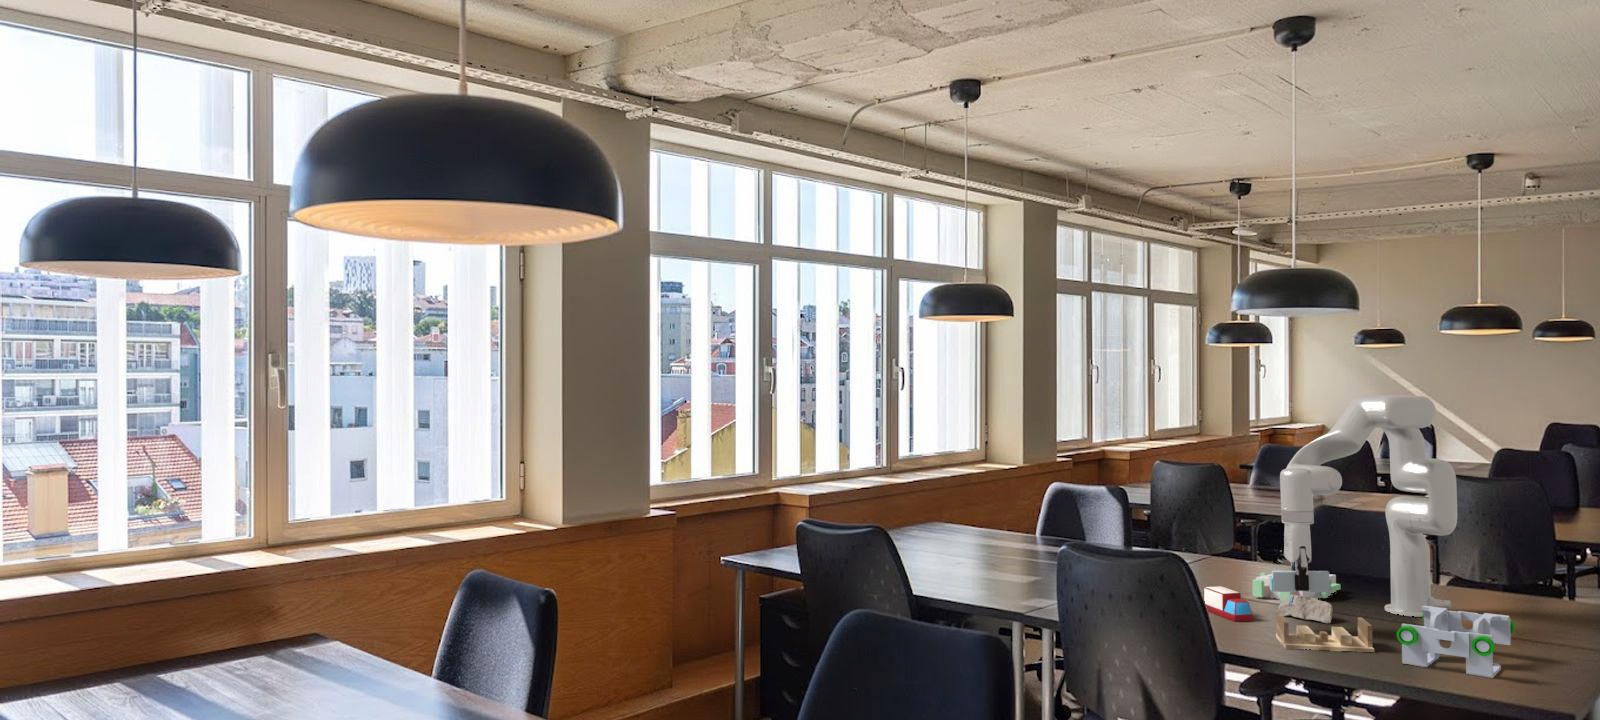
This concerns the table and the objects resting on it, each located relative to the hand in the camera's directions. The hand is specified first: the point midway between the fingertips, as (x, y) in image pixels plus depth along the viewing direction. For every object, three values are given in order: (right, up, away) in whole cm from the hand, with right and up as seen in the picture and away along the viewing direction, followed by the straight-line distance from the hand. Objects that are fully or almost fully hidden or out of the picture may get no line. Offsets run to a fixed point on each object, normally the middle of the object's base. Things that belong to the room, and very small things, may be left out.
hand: (1300, 587), depth 281 cm
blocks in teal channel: (0, -1, -1) cm, 1 cm away
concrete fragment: (+8, -11, +14) cm, 20 cm away
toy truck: (-11, -12, +18) cm, 24 cm away
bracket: (+22, -11, -30) cm, 39 cm away
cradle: (-1, -11, -14) cm, 18 cm away
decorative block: (+18, -12, +43) cm, 48 cm away
